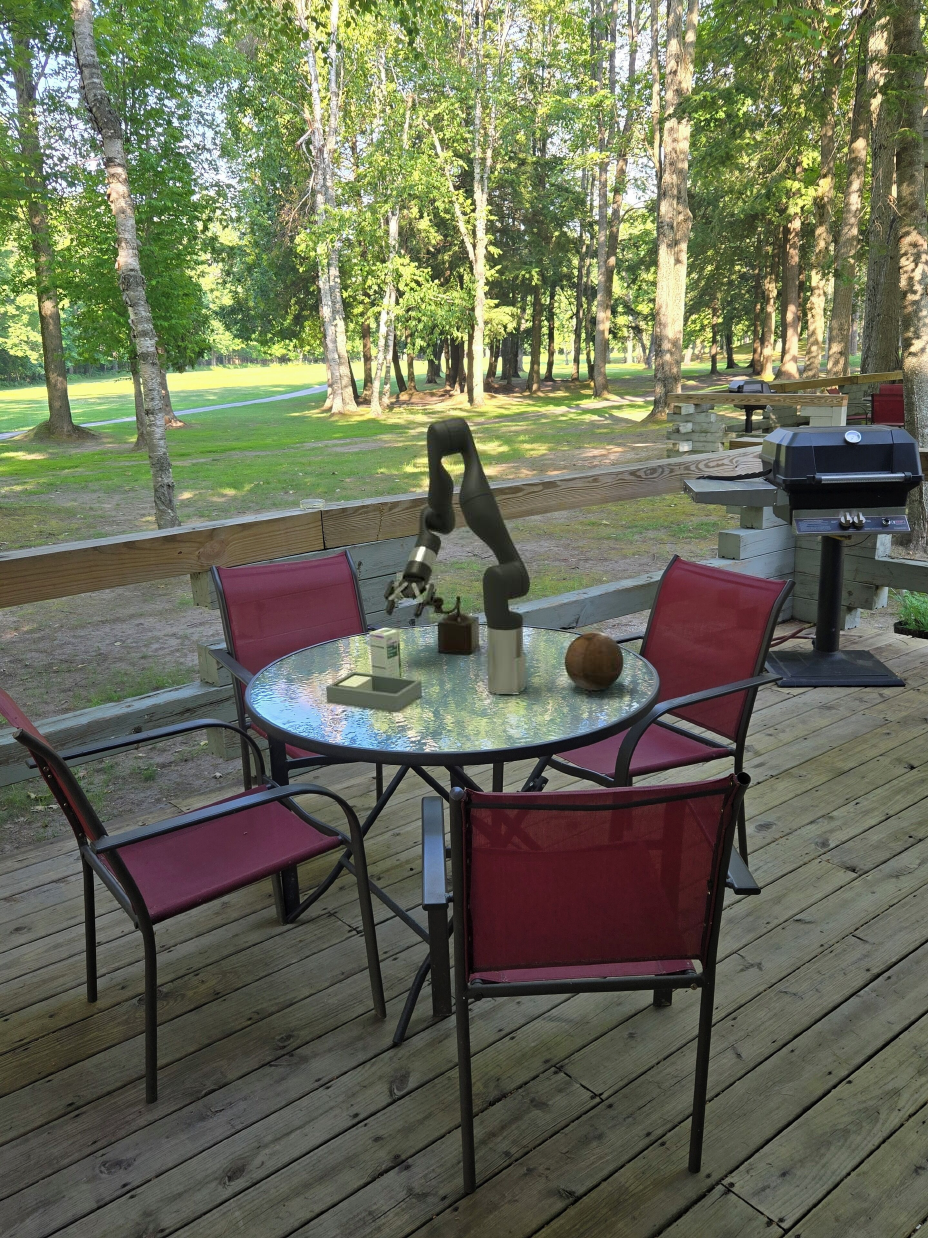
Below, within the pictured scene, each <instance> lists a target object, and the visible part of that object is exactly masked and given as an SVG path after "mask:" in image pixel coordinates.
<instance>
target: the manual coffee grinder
mask: <svg viewBox="0 0 928 1238" xmlns="http://www.w3.org/2000/svg"><path fill="white" fill-rule="evenodd" d="M455 598H456V601H455V604H454V605H455V606H454V607H453V608H452V609H450V610H444V609H443V605H444V603H445V600H444V599H443V597H440V596H435V597H434V600H433V604H432V606H431V607H432V608H433V613H434V614H441V615H445V616H443V617H442V618H441V620H439V621H438V622H437V649H438V650H437V653H439V654H445V655H447V654H448V655H459V656H471V655H473V654H474V653H475V651H476V650H477V649H478V648H479V646H480V634H479V633H480V623H479V622H480V618H479V616H472V615H467V614H465V613H462V612H461V604H462V603H461V602H462V601H461V596H460V595H457V596H456V597H455ZM477 647H478V648H477ZM476 648H477V649H476ZM475 649H476V650H475ZM470 654H471V655H470Z"/></svg>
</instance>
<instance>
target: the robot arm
mask: <svg viewBox="0 0 928 1238" xmlns="http://www.w3.org/2000/svg"><path fill="white" fill-rule="evenodd" d="M472 433H473V432H472V431H471V428H470V425H469V424H468V422H467V421H466V419H464V418H463V417H460V416H458V417H452V418H447V419H443V420H437V421H435V422H432V423H430V424H429V425H428V427H427V431H426V452H427V465H428V467H427V468H428V492H427V499H426V501H427V505H426V506H424V507H423V508H422V509H421V510H420V513H419V519H418V520H419V525H418V535H417V539H416V541H415V545H414V547H413V549H412V552H411V553H410V555H409V557H408V560H407V563H406V565H405V569H404V570H403V573H402V579H401V581H399V582H397V581H395V580H394V579H391V580H390V581H389V583H388V585H387V588H386V590H385V592H384V594H383V599H385V600H386V602H387V604H386V607H385V613H386V614H387V615H388V616H389V617H390V616H392V615H393V612H394V609H395V607H396V604H397V603H398V602H399V601H402V600H404V599H408V600H409V599H413V600H416V599H417V601H418V603H416V606H415V610H414V611H413V617H414V618H415V619H419V618H420V617H422V615H423V611H424V609H425V607H427V606H428V607H433V606H432V604H433V600H434V597H436V594H437V588H436V586H435V584H434V583H433V582H432V583H430V582H429V581H430V579H431V576H432V574H433V571H434V569H435V567H436V561H437V557H438V555H439V552H440V549H441V546H442V539H441V538H440V537H439V536H438V535H437V534H441V535H450V534H452V532H453V530H455V526H456V521H457V520H456V514H455V510H454V505H453V496H454V491H455V490H454V488H455V486H454V485H455V484H454V481H453V478H452V475H451V474H450V473H449V471H448V470H447V469H446V468H445V466H444V465H443V464H442V458H443V457H448V456H452V455H457V454H460V455H461V457H462V460H463V461H462V462H463V466H464V467H463V478H462V482H461V485H460V487H459V488H460V489H459V493H458V494H459V495H458V504H459V508H460V510H461V513H462V516H463V517H464V521H465V522H466V525H467V527H468V528H469V530H471V532H472V533H473V534H475V536H476V537H477V538H479V539H480V540H481V541H482V543H484V544H485V545H486V546H487V547H488V548H489V549H490V550H491V551H492V553H493V554H494V556H495V558H496V560H497V562H498V564H496V565H491V566H489V567H487V568H486V569H485V570H484V572H483V577H482V597H483V612H484V616H485V619H486V636H487V637H486V639H487V640H486V645H487V647H486V650H487V651H486V652H487V653H486V654H487V656H486V657H487V658H486V659H487V665H486V666H487V690H489V691H490V692H489V691H488V692H489V693H491V692H492V693H491V694H494V693H496V694H495V695H499V694H511V693H519V692H520V691H521V690H522V689H523V688H525V687H526V688H527V654H526V652H524V617H523V615H522V614H521V613H519V612H517V611H513V610H510V606H509V601H511V600H516V599H520V598H523V597H525V596H526V595H528V593H529V592H530V588H531V581H530V576H529V572H528V570H527V568H526V565H525V564H524V561H523V559H522V557H521V556H520V554H519V552H518V550H517V547H516V546H515V544H514V542H513V540H512V538H511V536H510V533H509V531H508V528H507V526H506V524H505V521H504V519H503V516H502V513H501V511H500V508H499V505H498V502H497V500H496V497H495V495H494V493H493V490H492V488H491V486H490V483H489V482H488V479H487V476H486V473H485V471H484V468H483V465H482V463H481V459H480V457H479V452H478V449H477V447H476V443H475V440H474V436H473V434H472ZM435 533H437V534H435ZM429 583H430V584H429ZM426 591H427V593H426V597H425V599H424V597H423V594H424V593H425V592H426ZM526 688H525V689H526ZM520 693H521V692H520ZM520 693H519V694H520Z"/></svg>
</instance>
